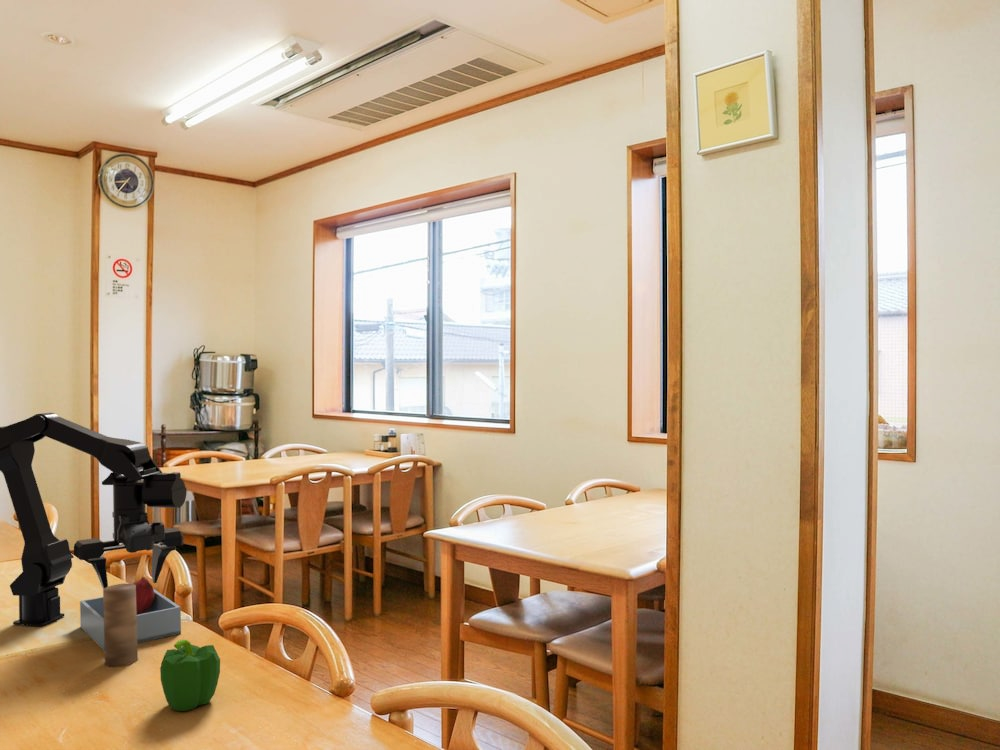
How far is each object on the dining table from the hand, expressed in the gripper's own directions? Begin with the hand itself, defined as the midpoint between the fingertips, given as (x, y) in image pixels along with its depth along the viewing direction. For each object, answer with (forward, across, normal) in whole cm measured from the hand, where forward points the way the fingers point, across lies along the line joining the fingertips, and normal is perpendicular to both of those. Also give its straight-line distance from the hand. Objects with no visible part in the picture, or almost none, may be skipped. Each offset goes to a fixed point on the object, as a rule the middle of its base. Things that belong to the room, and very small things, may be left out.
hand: (130, 587), depth 152 cm
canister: (+7, -7, -20) cm, 23 cm away
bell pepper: (+7, -4, -45) cm, 46 cm away
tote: (+7, -1, -4) cm, 8 cm away
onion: (+6, 0, 0) cm, 6 cm away
